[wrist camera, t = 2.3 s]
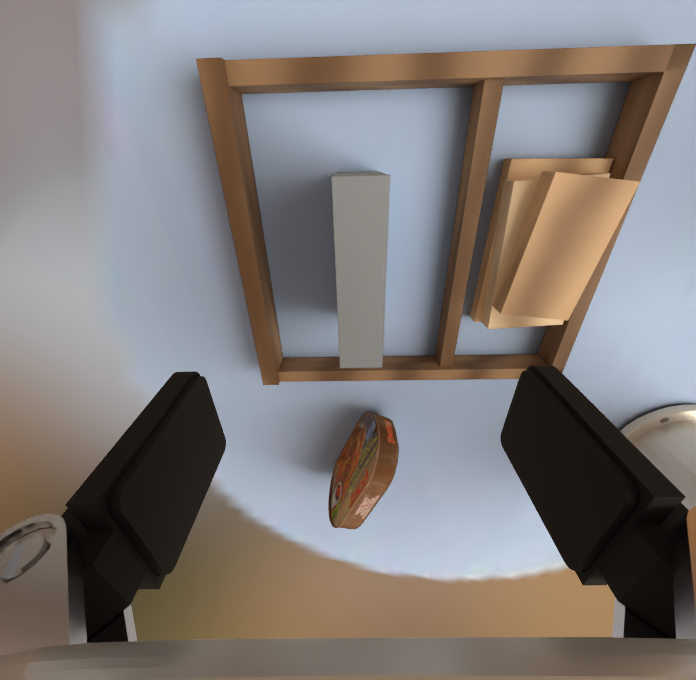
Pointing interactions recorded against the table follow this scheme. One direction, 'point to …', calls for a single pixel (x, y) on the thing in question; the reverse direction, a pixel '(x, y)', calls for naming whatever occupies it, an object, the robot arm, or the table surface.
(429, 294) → the table surface
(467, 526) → the table surface
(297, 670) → the robot arm
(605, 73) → the rack
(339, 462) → the tin
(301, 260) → the table surface
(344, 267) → the grey rectangular block
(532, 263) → the offcut stack
